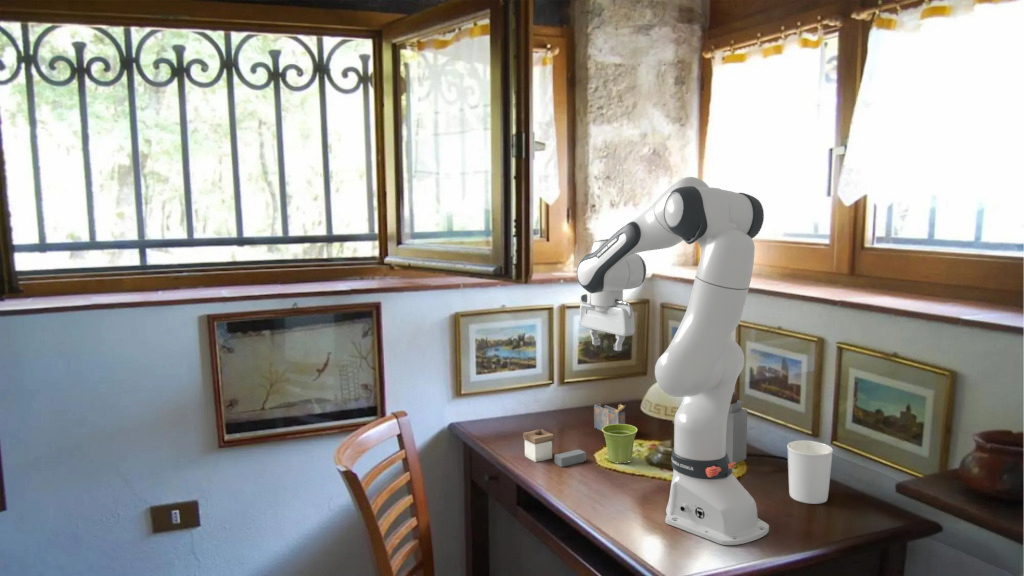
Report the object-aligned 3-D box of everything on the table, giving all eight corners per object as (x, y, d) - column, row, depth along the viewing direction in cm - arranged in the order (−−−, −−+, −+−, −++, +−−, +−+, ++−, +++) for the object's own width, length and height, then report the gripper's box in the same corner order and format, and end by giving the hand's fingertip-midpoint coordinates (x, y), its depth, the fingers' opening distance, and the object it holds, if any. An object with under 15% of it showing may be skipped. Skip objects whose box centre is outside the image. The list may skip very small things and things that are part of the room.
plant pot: (627, 469, 188) (627, 436, 187) (595, 461, 194) (595, 430, 193) (643, 458, 196) (643, 427, 195) (612, 452, 201) (612, 421, 200)
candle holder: (776, 493, 171) (777, 443, 170) (808, 486, 175) (809, 437, 174) (808, 508, 162) (810, 457, 161) (840, 500, 166) (842, 450, 165)
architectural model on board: (626, 436, 215) (626, 405, 214) (618, 438, 214) (618, 406, 213) (601, 427, 225) (601, 396, 224) (594, 429, 223) (594, 398, 222)
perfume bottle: (732, 464, 190) (733, 397, 188) (710, 458, 195) (711, 393, 193) (746, 458, 195) (747, 393, 192) (724, 452, 200) (725, 388, 197)
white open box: (552, 458, 197) (551, 440, 197) (535, 462, 195) (535, 444, 194) (541, 452, 202) (541, 435, 201) (524, 456, 199) (524, 438, 199)
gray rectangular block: (585, 461, 195) (585, 452, 194) (561, 467, 191) (561, 458, 190) (578, 457, 197) (578, 449, 197) (554, 463, 193) (554, 454, 193)
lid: (553, 440, 197) (553, 431, 196) (535, 444, 194) (534, 435, 193) (541, 434, 202) (541, 425, 201) (523, 438, 199) (523, 429, 198)
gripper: (640, 301, 192) (640, 352, 193) (593, 293, 209) (593, 340, 211) (622, 303, 189) (622, 355, 190) (575, 295, 206) (576, 343, 208)
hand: (606, 347), depth 201 cm, fingers open, 8 cm apart
